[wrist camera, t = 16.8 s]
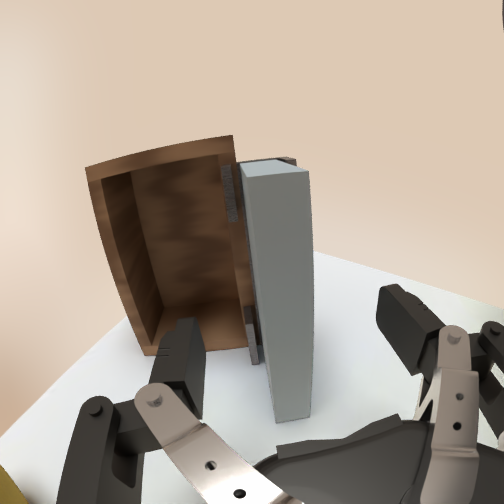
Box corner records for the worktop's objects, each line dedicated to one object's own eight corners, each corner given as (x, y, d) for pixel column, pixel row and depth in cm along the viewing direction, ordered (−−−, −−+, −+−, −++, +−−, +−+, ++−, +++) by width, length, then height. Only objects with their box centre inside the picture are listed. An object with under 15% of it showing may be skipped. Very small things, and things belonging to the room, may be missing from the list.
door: (289, 346, 24) (275, 159, 18) (309, 417, 16) (308, 170, 10) (263, 350, 24) (239, 163, 17) (275, 423, 16) (247, 177, 10)
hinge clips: (297, 334, 25) (285, 156, 19) (304, 356, 22) (295, 158, 16) (249, 342, 25) (222, 164, 19) (252, 365, 22) (220, 167, 16)
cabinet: (253, 299, 32) (231, 138, 25) (260, 344, 24) (232, 134, 17) (159, 311, 31) (121, 159, 24) (144, 355, 24) (84, 167, 17)
